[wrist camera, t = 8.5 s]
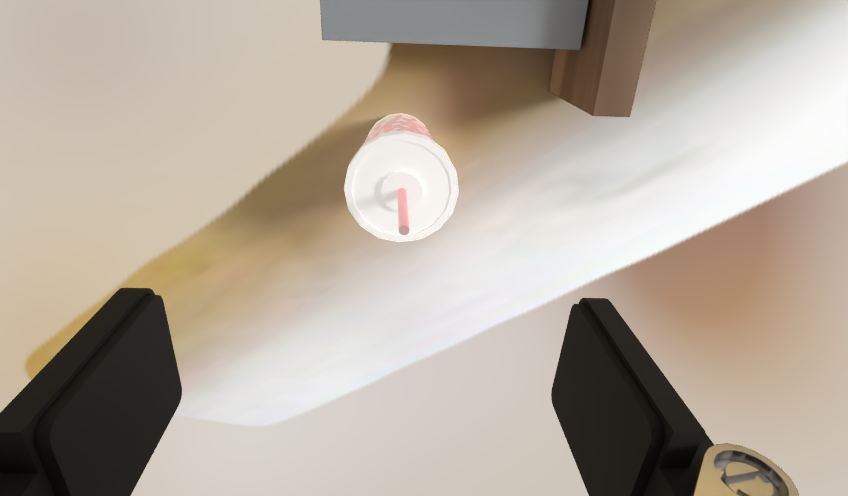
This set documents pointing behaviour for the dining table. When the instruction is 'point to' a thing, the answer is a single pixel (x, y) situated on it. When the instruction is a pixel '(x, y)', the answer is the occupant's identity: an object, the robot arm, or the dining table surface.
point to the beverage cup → (401, 181)
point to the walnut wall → (605, 58)
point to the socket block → (457, 22)
